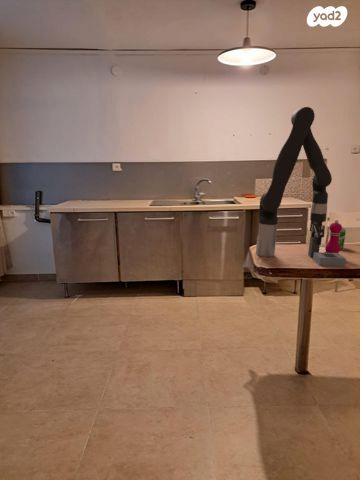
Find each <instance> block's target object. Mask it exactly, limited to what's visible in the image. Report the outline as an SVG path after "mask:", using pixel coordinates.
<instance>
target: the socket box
mask: <svg viewBox="0 0 360 480" xmlns="http://www.w3.org/2000/svg"><path fill="white" fill-rule="evenodd" d="M312 260H313V261H314V262H315V263H316V264H317V265H318V266H322V267H323V266H327V267H345V266H346V261H347V258H345V257H344V256H343V255H342V254H340V252H339V253H326V252H320V251H319V252H314V256H313V258H312Z"/></svg>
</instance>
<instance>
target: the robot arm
mask: <svg viewBox="0 0 360 480" xmlns="http://www.w3.org/2000/svg"><path fill="white" fill-rule="evenodd" d="M315 117H316V116H315V111H314V109H313V108H311V107H309V106H303V107H300V108H298V109H297V110H295V111H294V112H293V113H292V114H291V118H290V121H291V125H292V126H291V131H290V133H289V136H288V138H287V139H286V141H285V142H284V144H283V146H282V147H281V149H280V151H279V153H278V155H277V158H276V160H275V163H274V167H273V172H272V179H271V183H270V186H269V187H268V190H267V192H265V193H263V194H262V195H261V197H260V199H259V210H258V212H259V213H258V217H259V219H258V235H257V236H256V249H255V254H256V255H257V256H258V257H262V258H263V257H264V258H272V257H275V254H276V253H275V252H276V242H277V241H276V240H277V232H278V231H277V230H278V223H279V222H278V221H279V220H278V209H279V208H280V206H281V204H282V200H283V197H284V192H285V189H286V187H287V185H288V182H289V180H290V178H291V176H292V173H293V171H294V169H295V166H296V163H297V161H298V158H299V155H300V153H301V151H302V148H303V151H304V154H305V157H306V159H307V162H308V165H309V167H310V169H311V171H313V174H314V175H313V177H312V193H313V194H312V202H311V209H310V218H309V219H310V227H309V232H310V237H314V234H317V240H316V244H317V245H320V246H321V244H322V240H323V239H322V238H325V231H326V227H325V226H326V225H325V224H324V225H323V223H325V222H326V221H327V214H328V201H329V199H328V198H329V193H328V192H327V187H328V186H330V185H331V183H332V180H333V178H332V177H333V176H332V174H331V172H330V169H329V168H328V166H327V164H326V161H325V159H324V158H325V157H324V155H323V153H322V149H321V148H320V146H319V144H318V142H317V140H316V139H315V137H314V134H313V131H312V129H311V128H312V125H313V123H314V121H315Z"/></svg>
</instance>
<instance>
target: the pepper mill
mask: <svg viewBox="0 0 360 480" xmlns="http://www.w3.org/2000/svg"><path fill="white" fill-rule="evenodd" d="M342 227H343V226H342V224H340V223H339V219H336V220H334V222H333V223H331V224H330V225H329V240H328V242H327V243H326V244H325V248H324V250H325V251H326V252H325V253H339V254H340V252H341V249H340V245H339V242H338V238H339V236H340V231H341V230H342Z"/></svg>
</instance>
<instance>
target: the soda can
mask: <svg viewBox="0 0 360 480" xmlns="http://www.w3.org/2000/svg"><path fill="white" fill-rule="evenodd" d="M346 232H347V229H346V228H345V227H343V226H342V230H341V231H340V236H339V238H338V242H339V245H340V250H341V249H343V248H345V247H344V246H345V239H346Z"/></svg>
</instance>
